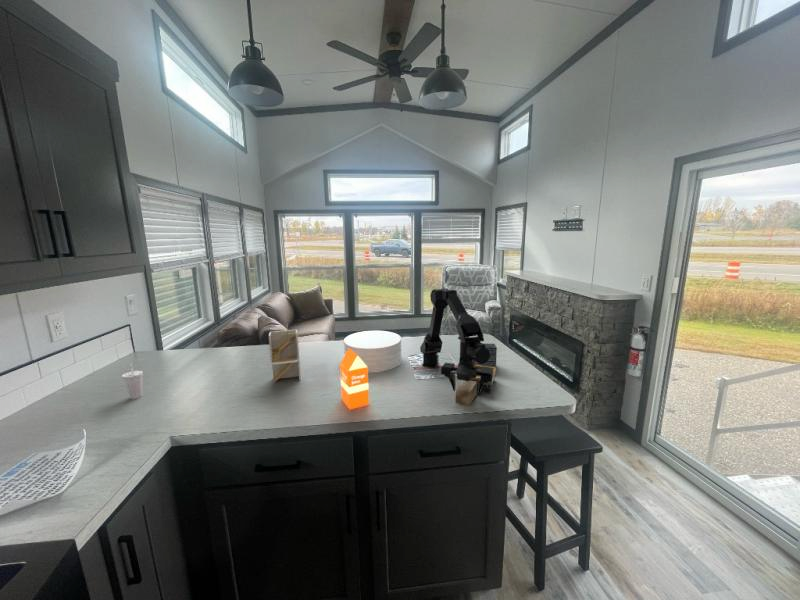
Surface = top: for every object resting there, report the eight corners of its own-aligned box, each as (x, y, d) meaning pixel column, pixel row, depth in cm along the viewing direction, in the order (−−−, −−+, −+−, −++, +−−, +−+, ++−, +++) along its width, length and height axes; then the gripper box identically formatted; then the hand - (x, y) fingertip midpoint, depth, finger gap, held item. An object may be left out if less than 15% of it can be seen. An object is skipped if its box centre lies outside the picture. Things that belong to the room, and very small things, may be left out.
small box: (493, 363, 157) (494, 343, 155) (496, 369, 150) (497, 347, 148) (471, 363, 158) (472, 342, 156) (473, 368, 151) (473, 347, 149)
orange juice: (349, 409, 117) (347, 356, 113) (341, 399, 125) (338, 349, 121) (369, 404, 121) (367, 352, 117) (360, 394, 128) (358, 345, 124)
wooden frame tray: (466, 390, 131) (467, 376, 129) (472, 376, 143) (473, 363, 142) (491, 394, 127) (492, 380, 126) (495, 379, 140) (496, 367, 139)
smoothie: (130, 402, 124) (123, 367, 121) (123, 398, 127) (116, 364, 124) (149, 395, 129) (143, 362, 126) (142, 391, 132) (136, 358, 130)
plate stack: (400, 350, 177) (400, 329, 174) (402, 371, 149) (402, 347, 147) (348, 351, 176) (347, 331, 173) (341, 373, 148) (339, 349, 146)
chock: (455, 403, 121) (455, 391, 120) (463, 390, 130) (464, 379, 129) (468, 406, 119) (469, 393, 118) (476, 393, 128) (476, 381, 127)
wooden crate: (273, 379, 143) (268, 323, 138) (300, 376, 146) (296, 321, 141) (271, 387, 136) (265, 328, 130) (300, 383, 139) (296, 326, 134)
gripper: (437, 358, 117) (436, 398, 120) (490, 365, 110) (488, 407, 113) (445, 348, 127) (444, 385, 130) (494, 354, 120) (492, 393, 123)
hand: (466, 392), depth 124 cm, fingers open, 9 cm apart
